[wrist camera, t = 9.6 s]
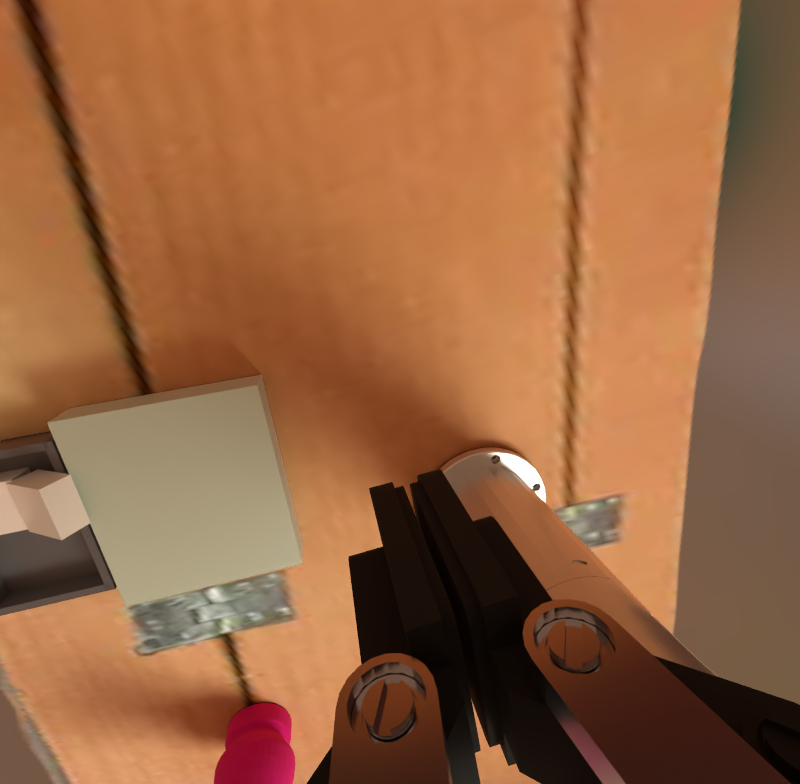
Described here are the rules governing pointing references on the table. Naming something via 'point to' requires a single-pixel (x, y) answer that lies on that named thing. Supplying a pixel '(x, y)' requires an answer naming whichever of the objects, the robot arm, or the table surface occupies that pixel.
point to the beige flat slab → (182, 486)
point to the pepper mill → (258, 747)
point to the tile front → (49, 503)
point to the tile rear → (10, 503)
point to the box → (46, 544)
